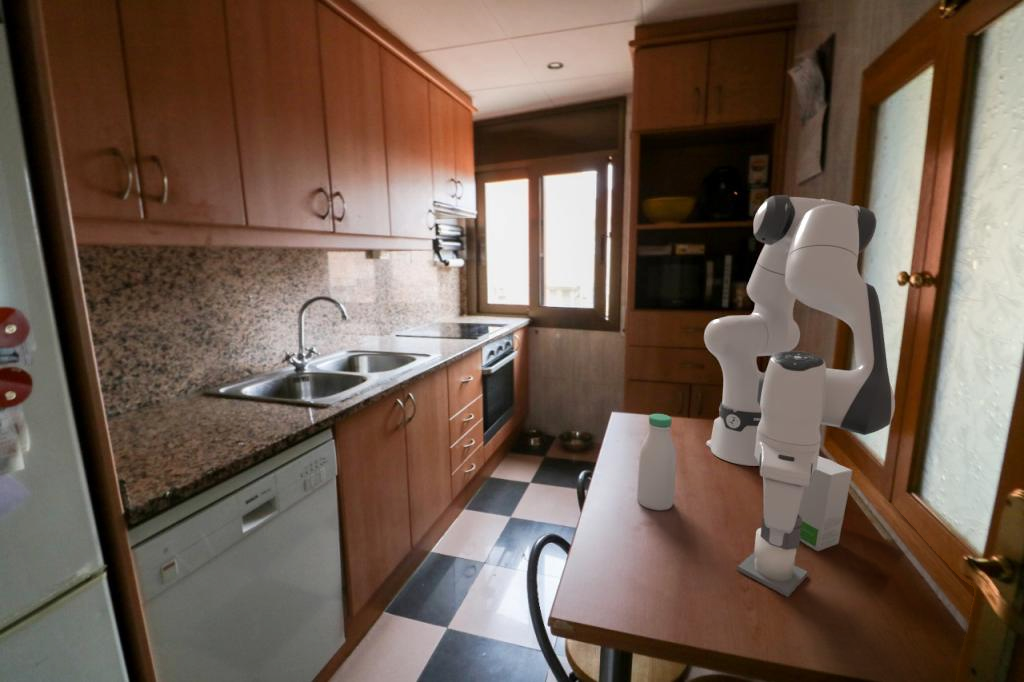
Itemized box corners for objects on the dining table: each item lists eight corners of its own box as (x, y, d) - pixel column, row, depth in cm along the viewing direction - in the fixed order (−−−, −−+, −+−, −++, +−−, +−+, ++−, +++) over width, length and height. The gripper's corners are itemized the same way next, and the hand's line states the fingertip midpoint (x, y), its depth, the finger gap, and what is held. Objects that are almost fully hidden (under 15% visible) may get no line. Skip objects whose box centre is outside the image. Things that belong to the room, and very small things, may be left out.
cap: (807, 547, 73) (810, 520, 72) (777, 550, 72) (780, 524, 72) (781, 527, 79) (784, 503, 78) (753, 530, 78) (756, 505, 77)
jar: (758, 552, 83) (763, 503, 81) (806, 575, 76) (814, 523, 75) (737, 570, 78) (742, 518, 76) (788, 597, 72) (795, 541, 70)
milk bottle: (675, 513, 95) (682, 424, 92) (638, 509, 97) (643, 421, 93) (670, 495, 103) (676, 411, 99) (635, 491, 104) (640, 409, 100)
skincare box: (777, 528, 90) (786, 455, 87) (799, 521, 93) (808, 450, 90) (819, 553, 82) (830, 474, 80) (842, 544, 85) (853, 468, 82)
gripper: (766, 427, 84) (758, 495, 86) (760, 470, 66) (750, 554, 69) (807, 434, 80) (797, 505, 83) (811, 481, 63) (799, 569, 66)
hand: (776, 527), depth 76 cm, fingers open, 8 cm apart
